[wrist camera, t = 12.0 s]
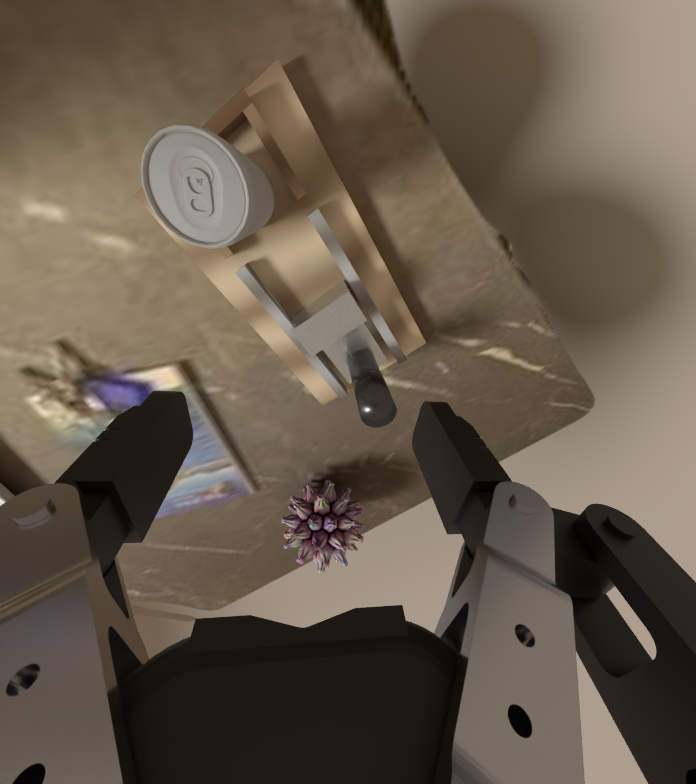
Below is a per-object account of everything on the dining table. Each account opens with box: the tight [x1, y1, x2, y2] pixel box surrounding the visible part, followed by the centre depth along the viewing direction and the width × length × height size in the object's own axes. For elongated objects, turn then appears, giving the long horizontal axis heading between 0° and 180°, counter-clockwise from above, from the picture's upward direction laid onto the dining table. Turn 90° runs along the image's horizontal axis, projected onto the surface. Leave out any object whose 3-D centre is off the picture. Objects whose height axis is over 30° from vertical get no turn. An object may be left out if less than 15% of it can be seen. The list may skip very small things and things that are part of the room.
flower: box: [281, 480, 364, 573], centre depth 41 cm, size 12×12×12 cm
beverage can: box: [141, 125, 275, 249], centre depth 18 cm, size 5×5×12 cm
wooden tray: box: [135, 59, 426, 405], centre depth 27 cm, size 25×14×4 cm, turn 33°
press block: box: [291, 281, 397, 427], centre depth 26 cm, size 10×6×10 cm, turn 33°
